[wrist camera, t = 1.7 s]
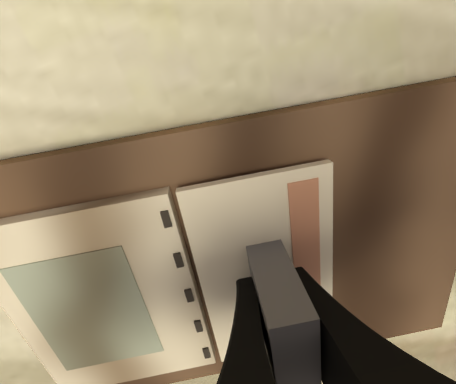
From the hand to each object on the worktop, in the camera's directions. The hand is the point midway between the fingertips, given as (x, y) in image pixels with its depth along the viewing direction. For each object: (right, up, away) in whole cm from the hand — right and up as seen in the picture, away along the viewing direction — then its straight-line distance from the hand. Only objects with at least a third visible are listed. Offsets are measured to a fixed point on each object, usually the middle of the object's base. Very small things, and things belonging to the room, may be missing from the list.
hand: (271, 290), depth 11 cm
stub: (0, 0, +1) cm, 1 cm away
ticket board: (-1, +1, +2) cm, 3 cm away
